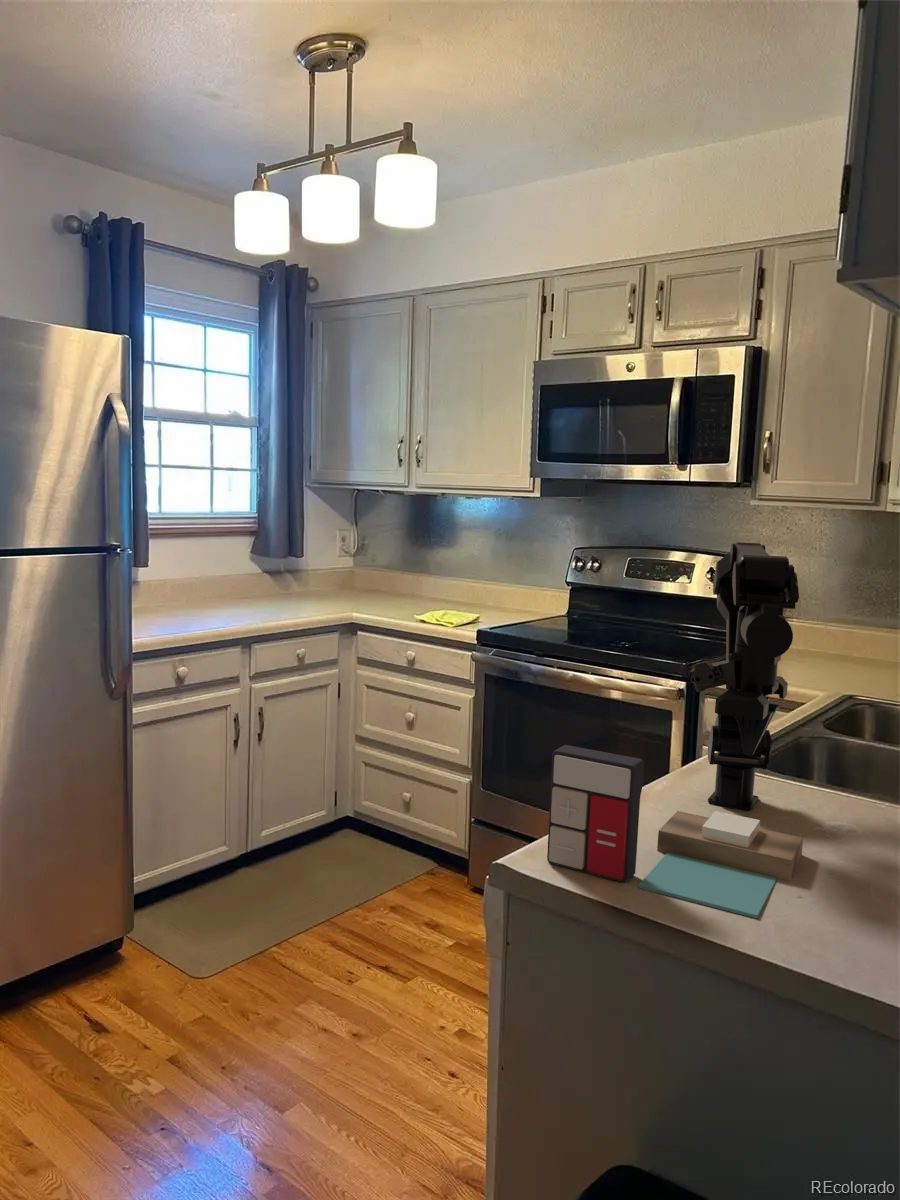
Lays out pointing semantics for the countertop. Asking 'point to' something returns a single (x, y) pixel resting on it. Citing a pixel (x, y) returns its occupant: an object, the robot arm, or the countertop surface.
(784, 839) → the wooden board
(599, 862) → the calculator
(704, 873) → the mat
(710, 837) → the tile
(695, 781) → the countertop surface
